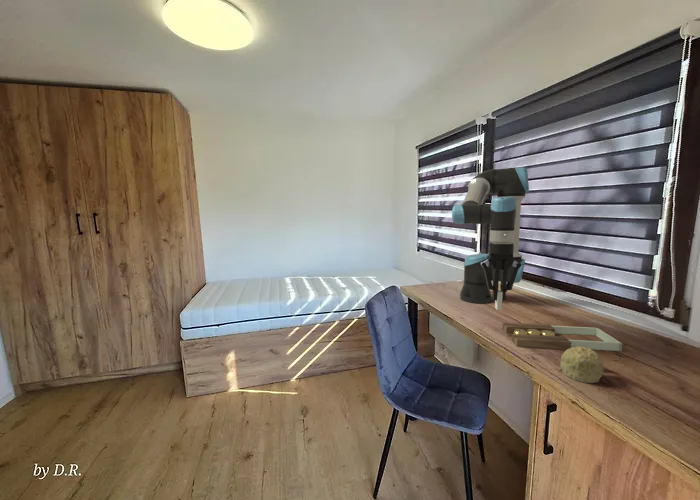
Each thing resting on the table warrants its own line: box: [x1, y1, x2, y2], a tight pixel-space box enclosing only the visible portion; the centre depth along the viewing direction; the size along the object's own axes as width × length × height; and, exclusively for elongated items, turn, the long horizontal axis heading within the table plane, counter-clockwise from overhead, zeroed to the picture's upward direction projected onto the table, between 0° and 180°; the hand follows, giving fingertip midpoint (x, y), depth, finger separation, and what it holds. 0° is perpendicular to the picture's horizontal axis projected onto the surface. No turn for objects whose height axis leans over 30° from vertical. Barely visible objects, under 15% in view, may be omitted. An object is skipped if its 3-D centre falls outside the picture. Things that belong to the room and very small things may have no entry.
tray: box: [551, 325, 623, 352], centre depth 101 cm, size 13×15×4 cm
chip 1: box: [514, 329, 527, 335], centre depth 104 cm, size 4×4×2 cm
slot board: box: [501, 321, 571, 351], centre depth 104 cm, size 15×16×4 cm
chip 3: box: [541, 330, 556, 336], centre depth 103 cm, size 4×4×2 cm
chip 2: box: [527, 329, 541, 335], centre depth 104 cm, size 4×4×2 cm
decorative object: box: [560, 346, 604, 384], centre depth 83 cm, size 9×10×10 cm
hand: (498, 308), depth 105 cm, fingers closed
